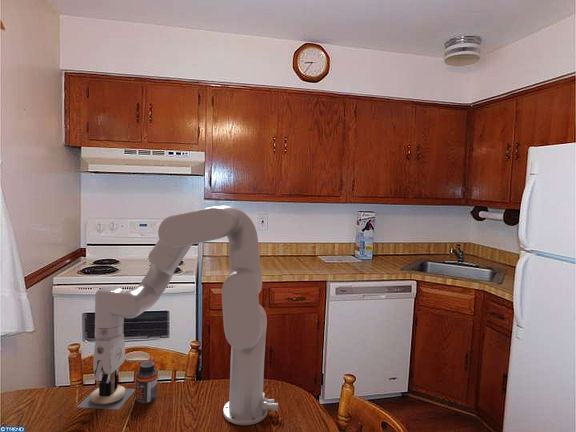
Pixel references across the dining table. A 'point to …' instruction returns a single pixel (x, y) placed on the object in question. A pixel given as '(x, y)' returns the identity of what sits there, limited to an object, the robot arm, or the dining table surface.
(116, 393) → the lid
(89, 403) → the mat
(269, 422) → the dining table surface
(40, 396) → the dining table surface
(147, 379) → the supplement bottle
